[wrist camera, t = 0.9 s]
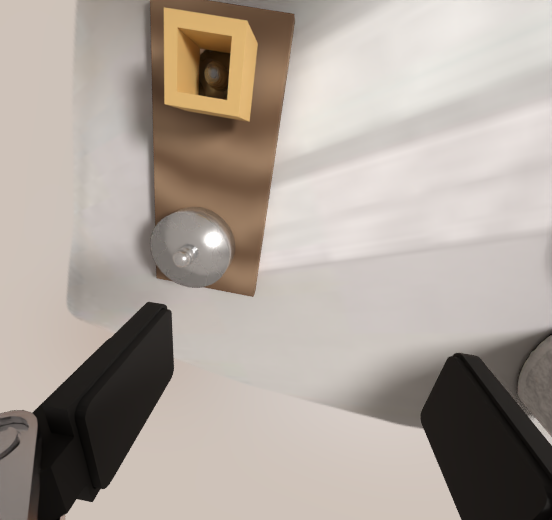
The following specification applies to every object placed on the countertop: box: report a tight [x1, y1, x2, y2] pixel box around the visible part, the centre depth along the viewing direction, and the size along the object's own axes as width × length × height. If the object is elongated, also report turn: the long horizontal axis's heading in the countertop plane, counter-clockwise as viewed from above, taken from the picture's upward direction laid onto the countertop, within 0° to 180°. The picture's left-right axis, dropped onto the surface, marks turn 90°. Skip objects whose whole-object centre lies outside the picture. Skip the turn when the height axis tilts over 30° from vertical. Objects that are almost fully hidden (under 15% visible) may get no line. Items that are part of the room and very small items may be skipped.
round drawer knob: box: [198, 49, 231, 100], centre depth 24 cm, size 5×5×4 cm
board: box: [150, 0, 295, 297], centre depth 30 cm, size 29×13×2 cm, turn 171°
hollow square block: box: [164, 7, 258, 122], centre depth 22 cm, size 6×6×4 cm
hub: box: [150, 207, 235, 288], centre depth 30 cm, size 9×9×6 cm
